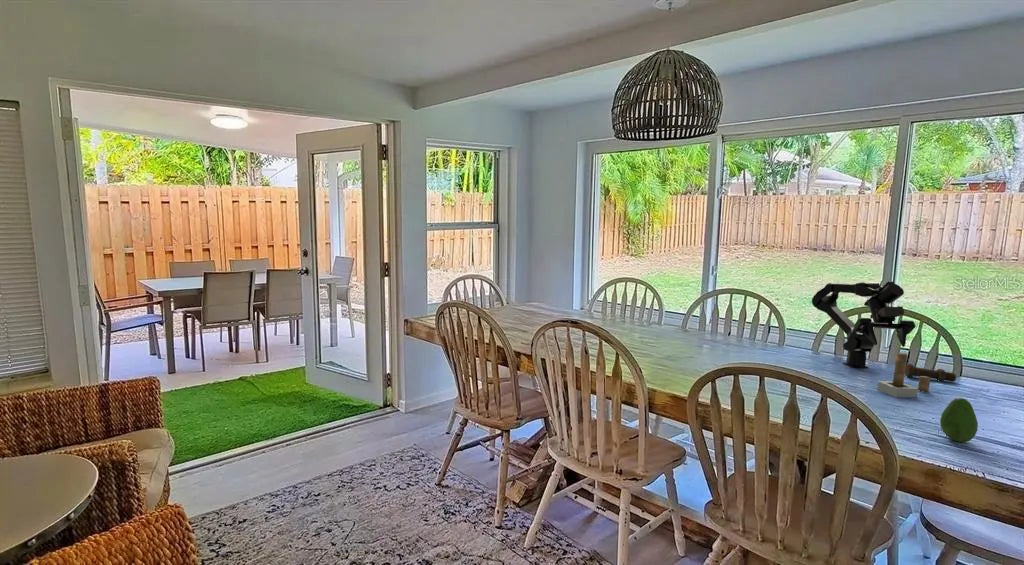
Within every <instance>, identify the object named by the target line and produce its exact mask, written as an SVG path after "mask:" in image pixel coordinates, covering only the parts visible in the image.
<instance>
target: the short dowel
mask: <svg viewBox="0 0 1024 565" xmlns="http://www.w3.org/2000/svg"><path fill="white" fill-rule="evenodd" d="M930 384H931V378H930V377H926V376H920V377H919V380H918V384H917V386H918V390H920V391H919V392H921V391H924V392H923V393H929V392H928V391H930Z"/></svg>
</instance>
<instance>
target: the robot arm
mask: <svg viewBox="0 0 1024 565" xmlns="http://www.w3.org/2000/svg"><path fill="white" fill-rule="evenodd" d="M840 293H844V294H854V295H855V296H858V297H862V298H863V297H865V298H866V297H867V298H868V299H866V300H865V302H864V303H863V306H864V307H865V306H866V307H869V308H868V309H869V310H870V316H869V317H859V318H858V319H857V320H856V322H853V321H852V320H851V319H850V318H849V317H848V315H846V314H845V313H844V312H843V311H842V310H841V309H840V308H839V307H838V302H837V300H838V298H839V294H840ZM904 294H905V290H904V288H902V287H901V286H900V285H899V284H896V283H895V282H894V281H887V282H886V283H885V284H884V285H883V286H881V285H880V283H879V282H877V281H866V282H864V281H862V282H856V283H839V282H829V283H826V285H824V287H822V288H821V289H819V290H818V291H817V292H816V293H815V294H814V295H813V296H812V298H811V304H812V306H813V307H814V308H816V309H817V311H821V312H824V313H826V314H827V315H828V317H830V319H831V320H833V322H834V323H836V325H837V326H838V327H839V328H840V329H841V330H842V332H844V334H845V335H846V342H844V343H843V344H842V346H843V350H844V351H847V354H846V361H843V362H842V364H844V365H847V366H849V367H852V368H853V369H854V368H856V369H857V368H869V365H867V364H866V362H867V353H871V352H872V349H874V346H877V345H878V339H877V337H876V334H875V331H874V329H875V328H876V329H883V330H885V329H887V330H888V329H889V330H895V331H896V333H897V334H896V337H897V339H898V340H899V343H900V346H901V347H902V348H904V347H906V342H907V336H908V335H909V334H911V333H912V332H913V330H914V329H915V328H916V326H917V325H916V323H915V321H914V320H907V319H906V320H905V319H901V320H900V322H899V323H894V322H895V321H896V320H897V319H896V318H897V317H900V316H903V315H905V310H904V307H903V306H902V305H901V306H888V305H890V304H891V305H892V304H894V302H896V301H897V300H898V299H899V298H902V297H903V295H904ZM872 320H873V321H872Z"/></svg>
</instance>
